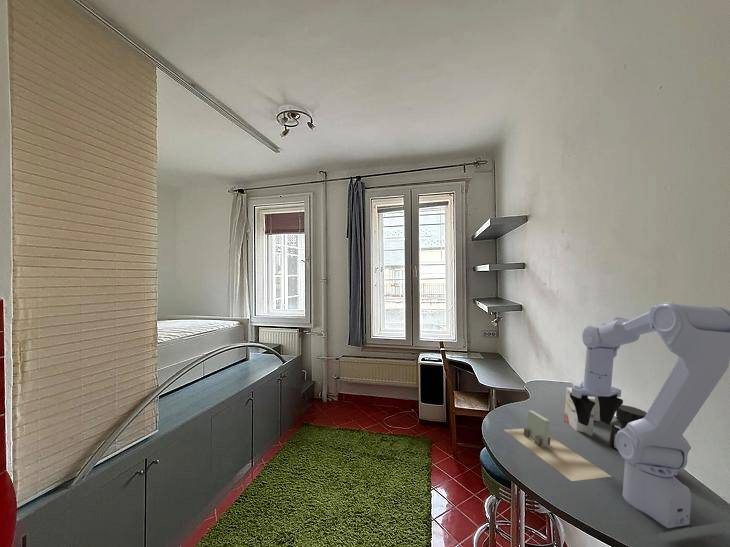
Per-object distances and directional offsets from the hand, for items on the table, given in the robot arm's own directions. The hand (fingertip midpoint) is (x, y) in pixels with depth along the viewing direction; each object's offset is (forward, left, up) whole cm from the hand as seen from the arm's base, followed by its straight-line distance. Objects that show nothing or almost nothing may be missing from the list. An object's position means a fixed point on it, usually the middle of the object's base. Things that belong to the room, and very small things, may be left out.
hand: (594, 423), depth 78 cm
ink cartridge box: (+14, -12, -10) cm, 21 cm away
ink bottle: (+1, -15, -10) cm, 18 cm away
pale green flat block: (+8, +10, -8) cm, 15 cm away
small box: (+22, -25, -10) cm, 35 cm away
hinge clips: (+8, +10, -8) cm, 15 cm away
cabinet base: (+3, +10, -9) cm, 14 cm away
